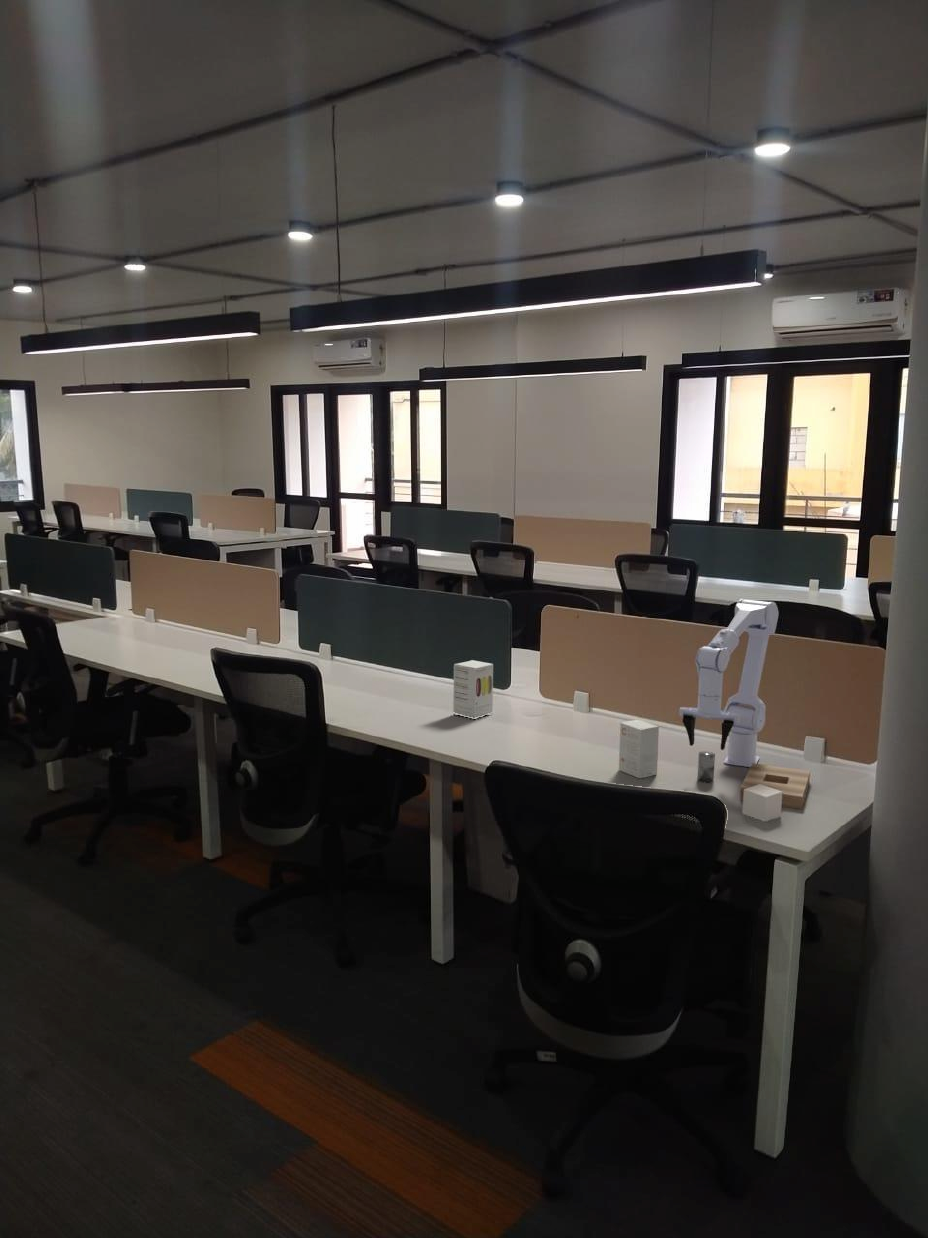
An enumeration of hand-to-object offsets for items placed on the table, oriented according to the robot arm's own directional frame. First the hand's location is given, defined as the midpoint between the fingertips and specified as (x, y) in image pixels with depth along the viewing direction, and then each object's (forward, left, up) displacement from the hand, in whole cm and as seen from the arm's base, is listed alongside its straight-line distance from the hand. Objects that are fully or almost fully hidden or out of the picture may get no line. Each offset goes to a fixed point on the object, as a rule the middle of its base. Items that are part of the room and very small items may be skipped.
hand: (707, 746), depth 225 cm
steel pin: (0, 0, -9) cm, 9 cm away
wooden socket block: (0, +17, -9) cm, 19 cm away
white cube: (+18, +16, -9) cm, 26 cm away
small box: (+2, -17, -9) cm, 19 cm away
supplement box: (-29, -79, -9) cm, 85 cm away
